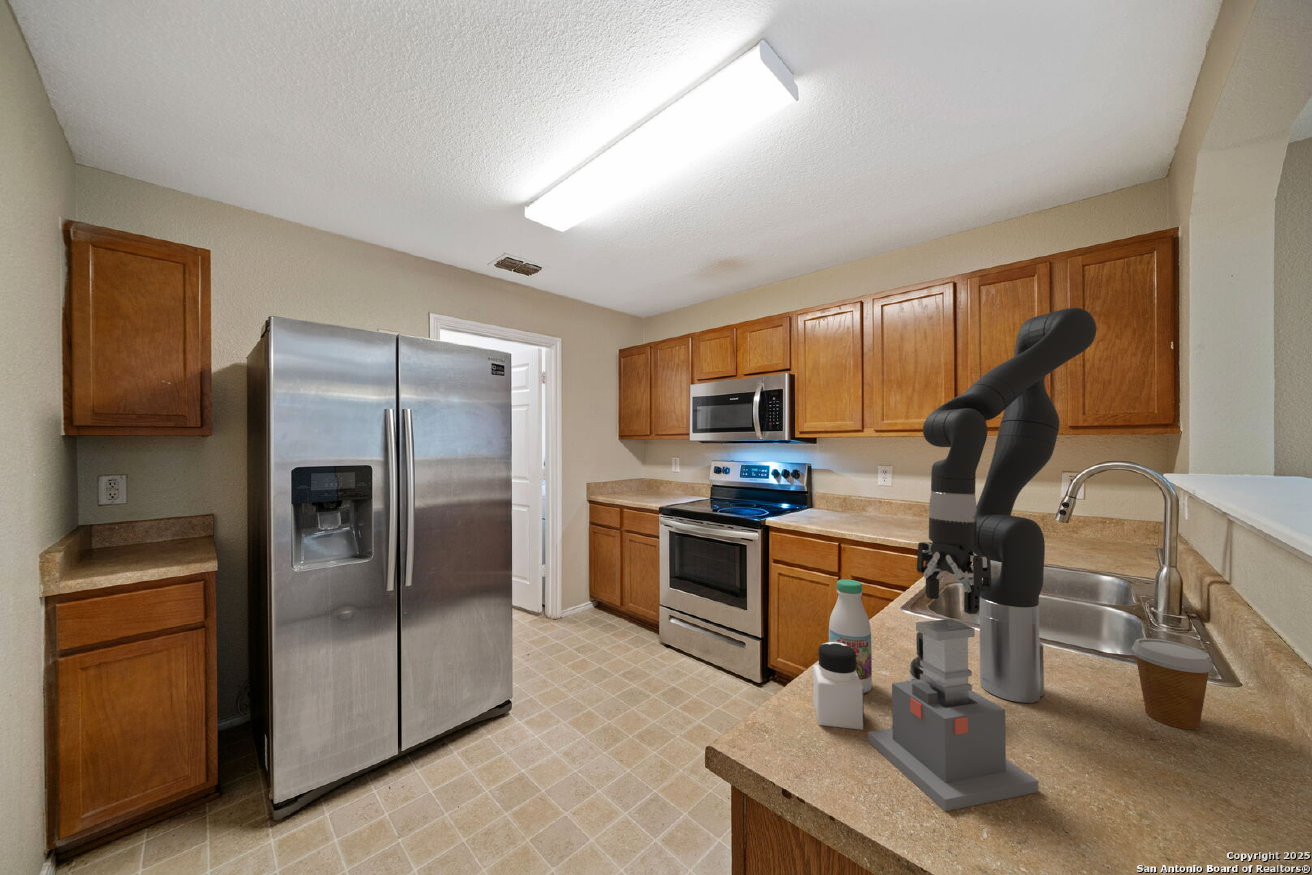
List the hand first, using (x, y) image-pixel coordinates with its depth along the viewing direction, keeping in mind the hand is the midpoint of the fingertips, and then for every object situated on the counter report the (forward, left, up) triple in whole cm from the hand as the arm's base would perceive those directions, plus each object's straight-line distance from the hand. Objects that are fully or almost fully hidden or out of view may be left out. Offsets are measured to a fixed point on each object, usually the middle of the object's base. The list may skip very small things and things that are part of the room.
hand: (950, 605), depth 89 cm
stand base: (+16, +15, -17) cm, 28 cm away
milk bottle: (+15, -9, -17) cm, 25 cm away
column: (+16, +15, -15) cm, 26 cm away
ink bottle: (+4, +1, -17) cm, 18 cm away
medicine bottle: (+24, 0, -17) cm, 29 cm away
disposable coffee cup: (-31, +14, -17) cm, 38 cm away
